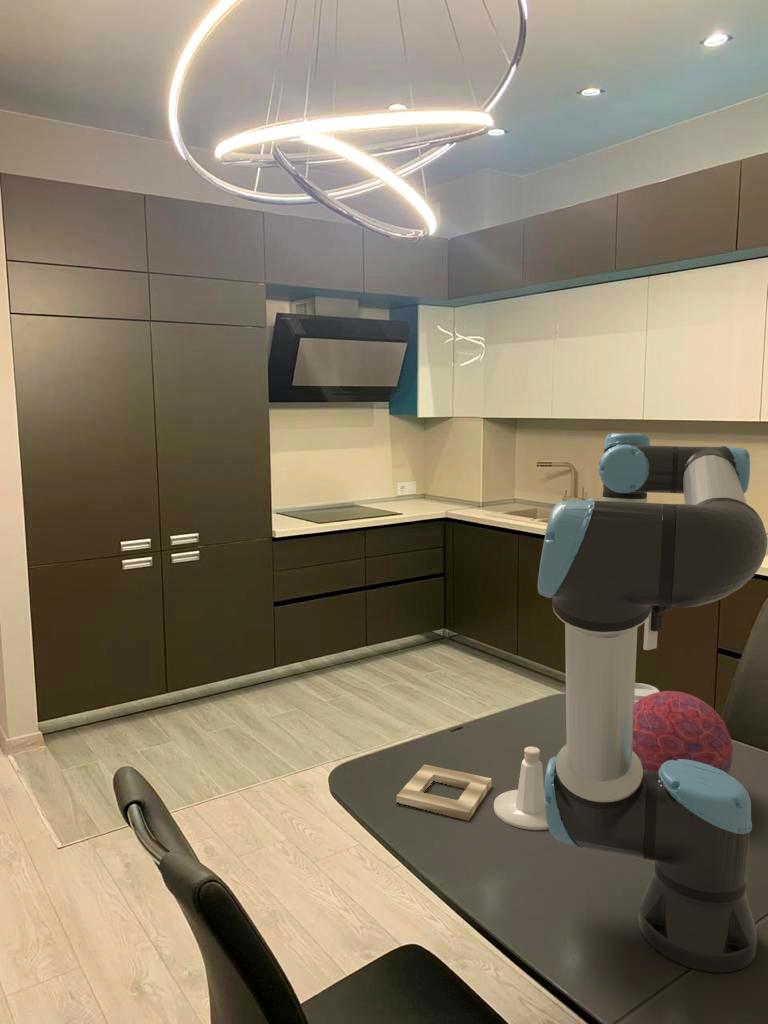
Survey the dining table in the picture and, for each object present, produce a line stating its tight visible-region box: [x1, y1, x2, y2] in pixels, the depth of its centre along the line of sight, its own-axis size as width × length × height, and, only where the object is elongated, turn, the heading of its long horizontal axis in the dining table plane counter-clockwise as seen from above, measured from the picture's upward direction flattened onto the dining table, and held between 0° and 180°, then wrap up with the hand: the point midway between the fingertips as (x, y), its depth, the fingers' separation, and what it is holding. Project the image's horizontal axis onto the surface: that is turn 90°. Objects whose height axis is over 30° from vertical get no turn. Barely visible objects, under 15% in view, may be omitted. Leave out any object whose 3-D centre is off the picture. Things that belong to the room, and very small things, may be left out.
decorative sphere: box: [632, 690, 734, 774], centre depth 143 cm, size 20×20×20 cm
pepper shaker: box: [516, 746, 545, 814], centre depth 138 cm, size 5×5×11 cm
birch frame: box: [395, 764, 493, 822], centre depth 144 cm, size 14×14×2 cm
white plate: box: [493, 789, 549, 831], centre depth 138 cm, size 13×13×1 cm
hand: (617, 639), depth 136 cm, fingers open, 13 cm apart
